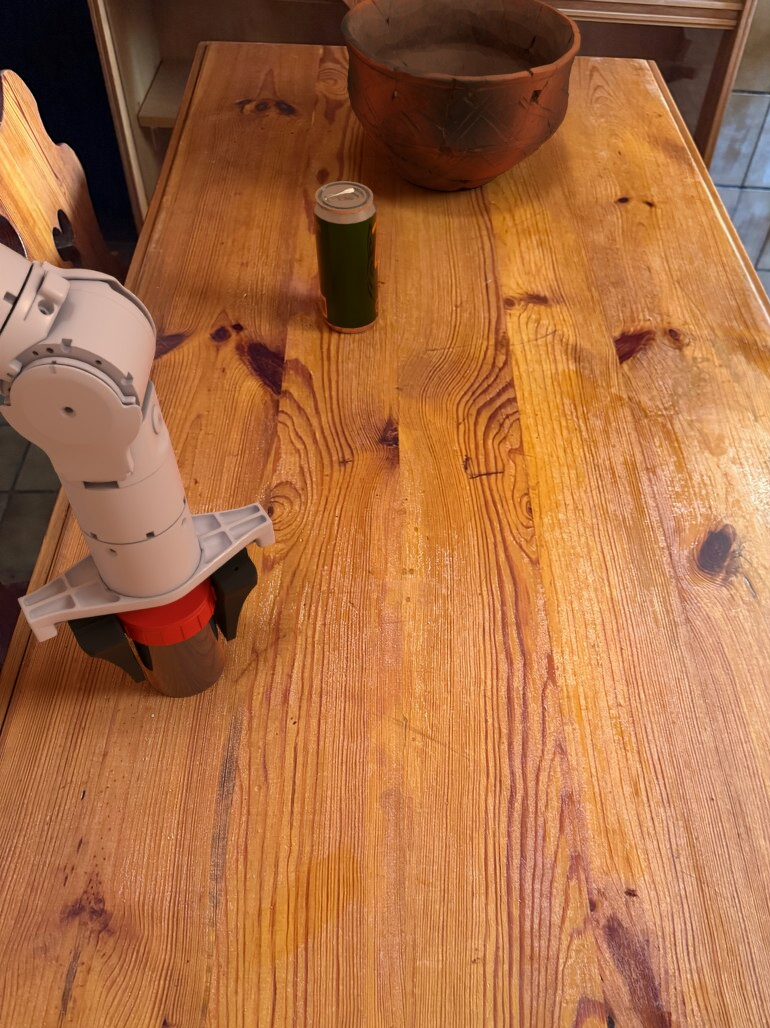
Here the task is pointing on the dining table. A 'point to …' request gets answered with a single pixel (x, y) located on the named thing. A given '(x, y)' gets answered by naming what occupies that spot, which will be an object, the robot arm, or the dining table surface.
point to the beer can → (347, 255)
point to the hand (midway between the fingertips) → (181, 649)
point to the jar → (184, 663)
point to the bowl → (458, 83)
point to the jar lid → (171, 618)
